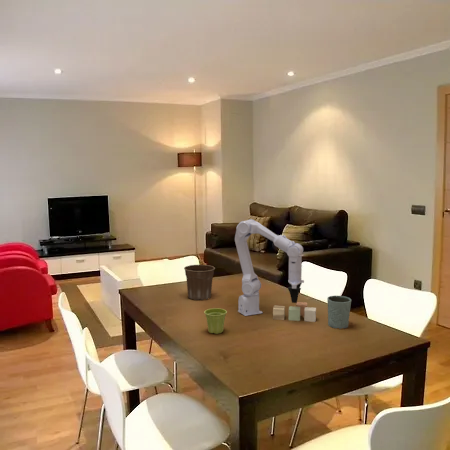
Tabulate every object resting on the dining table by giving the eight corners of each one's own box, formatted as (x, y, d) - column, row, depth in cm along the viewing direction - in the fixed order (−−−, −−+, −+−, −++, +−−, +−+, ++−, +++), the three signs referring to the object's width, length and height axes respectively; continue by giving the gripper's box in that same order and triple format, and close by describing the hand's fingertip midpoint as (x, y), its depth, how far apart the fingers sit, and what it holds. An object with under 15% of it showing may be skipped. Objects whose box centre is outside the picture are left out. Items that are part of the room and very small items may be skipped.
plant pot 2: (210, 337, 187) (210, 316, 186) (200, 329, 195) (200, 310, 194) (230, 333, 191) (230, 313, 190) (220, 326, 200) (220, 307, 199)
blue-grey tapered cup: (334, 320, 207) (335, 294, 206) (355, 325, 200) (355, 298, 199) (322, 325, 200) (322, 298, 199) (342, 331, 193) (343, 303, 192)
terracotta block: (306, 316, 213) (307, 305, 213) (296, 315, 214) (296, 305, 214) (307, 312, 218) (307, 302, 218) (296, 312, 219) (296, 302, 219)
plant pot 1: (220, 295, 248) (220, 266, 246) (203, 303, 234) (203, 272, 232) (196, 291, 256) (196, 263, 254) (178, 298, 243) (177, 268, 241)
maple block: (284, 320, 208) (284, 309, 207) (272, 319, 209) (273, 308, 208) (284, 316, 213) (284, 306, 212) (274, 316, 214) (274, 305, 213)
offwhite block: (315, 321, 205) (315, 311, 205) (304, 321, 206) (304, 310, 206) (315, 318, 210) (315, 307, 209) (304, 317, 211) (304, 307, 210)
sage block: (299, 321, 207) (299, 310, 206) (288, 320, 208) (288, 309, 207) (300, 317, 211) (300, 306, 211) (289, 316, 212) (289, 306, 212)
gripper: (303, 274, 199) (303, 305, 201) (304, 267, 213) (304, 296, 215) (287, 274, 200) (286, 304, 202) (289, 267, 214) (288, 295, 216)
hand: (294, 300), depth 208 cm, fingers open, 7 cm apart
